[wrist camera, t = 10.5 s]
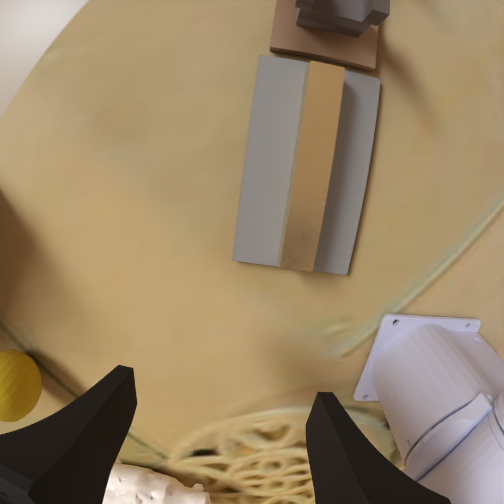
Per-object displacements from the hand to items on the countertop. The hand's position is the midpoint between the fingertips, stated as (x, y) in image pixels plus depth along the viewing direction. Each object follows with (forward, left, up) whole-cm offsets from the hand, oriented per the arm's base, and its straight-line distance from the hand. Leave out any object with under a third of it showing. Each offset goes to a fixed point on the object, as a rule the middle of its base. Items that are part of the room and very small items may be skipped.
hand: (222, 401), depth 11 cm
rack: (-3, -22, -9) cm, 24 cm away
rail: (-3, -9, -9) cm, 13 cm away
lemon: (+18, +10, -10) cm, 23 cm away
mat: (-3, -9, -9) cm, 13 cm away
